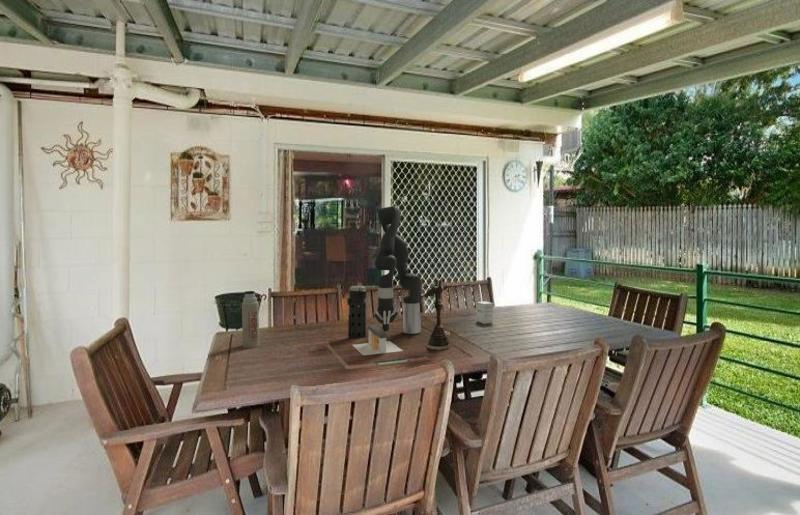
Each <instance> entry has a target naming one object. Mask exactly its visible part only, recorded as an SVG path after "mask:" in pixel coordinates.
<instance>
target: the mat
mask: <svg viewBox="0 0 800 515" xmlns="http://www.w3.org/2000/svg"><path fill="white" fill-rule="evenodd" d="M374 363H375V364H376V365H377V366H379V367H380V366H385V365H386V366H387V365H393V364H394V365H396V364H401V363H402V364H404V363H408V360H407V359H406V358H397V359H389V360H381V361H374Z"/></svg>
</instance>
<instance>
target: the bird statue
mask: <svg viewBox="0 0 800 515" xmlns="http://www.w3.org/2000/svg"><path fill="white" fill-rule="evenodd" d="M430 286H431V288H430V289H429V290H428V291H427V292H425V293H421V296H420V299H423V298H427V297H428V298H429V297H434V296H435V297H434V298H435V302H434V303H433V306H434V309H436V316H435V319H436V325H434V328H433V332H431V334H430V338H429V341H428V342H427V343H426V348H428V349H431V350H434V349H436V350H437V351H442V349H443V350H448V349H447V348H450V347H451V343H450V340H449V339H448V335H447V333H446V331H445V329H444V325H442V310H443V308H444V302H443V299H442V298H441V295H442V293H443V292H444V291H445V290H446V289H448V288H449V287H450V285H449V284H445V285H444V286H443V283H442V279H440V280H438V286H436V285H434V283H433V282H431V285H430ZM449 346H450V347H449Z"/></svg>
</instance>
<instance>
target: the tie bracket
mask: <svg viewBox="0 0 800 515" xmlns="http://www.w3.org/2000/svg"><path fill="white" fill-rule="evenodd" d="M371 333H373V332H371V331H370V330H369V329H368V343H367V342H366V343H358V344H352V346H353V348H355V349H356V350H357V351H358V352H359V353H360V354H361V355H362V356H371V355H377V354H378V355H379V354H380V355H381V354H387V353H397V352H403V351H404V350H403V349H402V348H400V347H398V346H397V345H396V344H394V343H393V342H392V341H389V340H388V341H387V338H380V337H379V349H373V348H372V347H371Z"/></svg>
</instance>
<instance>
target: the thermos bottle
mask: <svg viewBox="0 0 800 515" xmlns="http://www.w3.org/2000/svg"><path fill="white" fill-rule="evenodd" d="M255 293H256V292H255V291H254V290H246V291H244V297H243V298H242V301H243V302H241V321H242V322H241V324H242V327H241V328H242V329H241V330H242V347H243V348H246V349H247V348H248V349H250V348H257V347H259V346H260V319H259V318H260V317H259V316H260V315H259V313H260V312H259V301H258V297H257V296H256V294H255Z"/></svg>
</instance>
